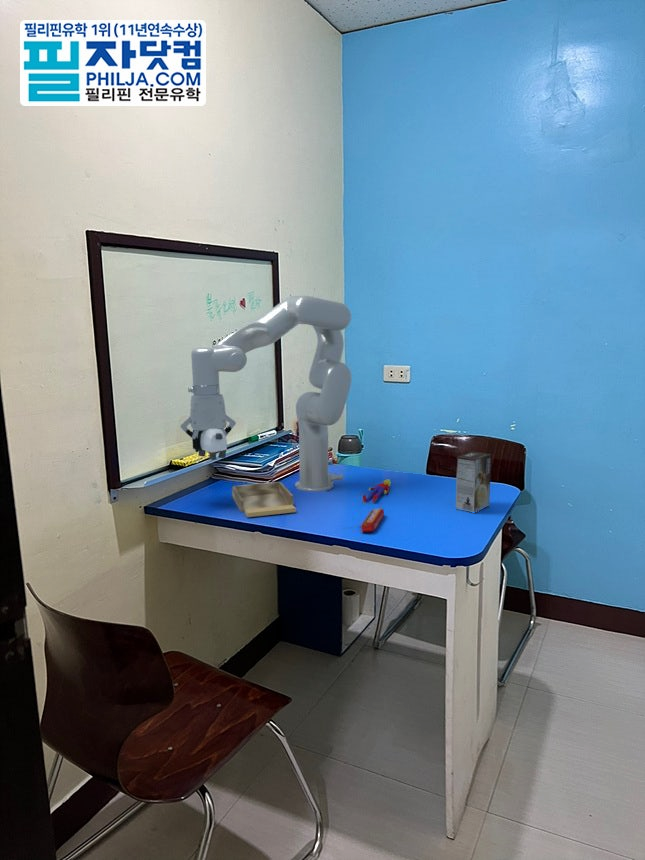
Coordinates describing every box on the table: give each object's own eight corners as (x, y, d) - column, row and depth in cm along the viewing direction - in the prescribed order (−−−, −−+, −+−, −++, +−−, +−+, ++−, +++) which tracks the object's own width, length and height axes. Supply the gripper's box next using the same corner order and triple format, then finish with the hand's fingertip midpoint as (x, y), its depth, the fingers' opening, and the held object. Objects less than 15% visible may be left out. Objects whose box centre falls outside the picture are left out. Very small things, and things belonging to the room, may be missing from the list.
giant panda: (229, 458, 184) (228, 425, 182) (213, 461, 180) (211, 428, 178) (204, 449, 195) (202, 419, 193) (188, 452, 191) (186, 421, 189)
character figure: (362, 487, 191) (382, 471, 209) (358, 500, 193) (378, 483, 211) (379, 495, 190) (398, 478, 208) (374, 508, 191) (394, 490, 209)
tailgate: (291, 504, 185) (295, 507, 181) (292, 508, 185) (296, 512, 181) (244, 509, 181) (247, 513, 177) (244, 513, 181) (247, 517, 177)
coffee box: (470, 502, 191) (472, 450, 188) (489, 506, 187) (492, 454, 184) (454, 509, 185) (456, 456, 182) (474, 514, 180) (476, 459, 177)
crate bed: (280, 493, 202) (280, 481, 201) (293, 508, 187) (293, 495, 186) (232, 498, 197) (231, 486, 196) (241, 513, 182) (240, 500, 182)
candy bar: (372, 515, 181) (372, 505, 180) (385, 516, 180) (385, 506, 179) (359, 534, 166) (359, 523, 165) (373, 535, 165) (373, 525, 164)
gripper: (177, 394, 177) (181, 455, 181) (238, 390, 182) (241, 450, 186) (175, 390, 184) (178, 449, 188) (234, 387, 189) (236, 445, 193)
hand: (209, 449), depth 187 cm, fingers closed on giant panda, 7 cm apart
